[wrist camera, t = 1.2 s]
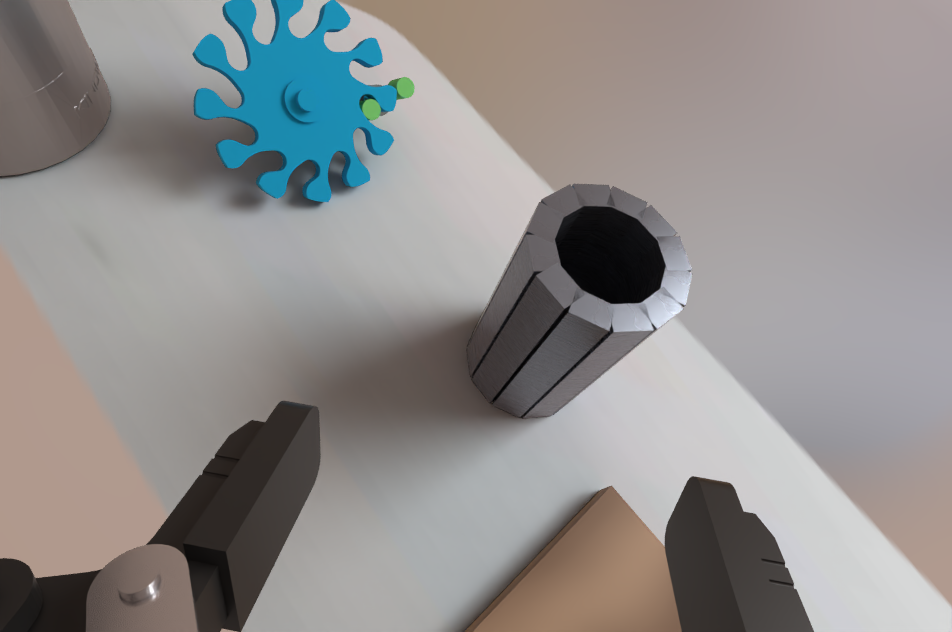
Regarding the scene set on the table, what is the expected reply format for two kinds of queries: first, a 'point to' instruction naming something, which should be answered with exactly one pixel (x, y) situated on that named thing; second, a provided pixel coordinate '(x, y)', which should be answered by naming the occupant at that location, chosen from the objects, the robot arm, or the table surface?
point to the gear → (299, 97)
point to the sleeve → (576, 298)
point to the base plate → (591, 579)
